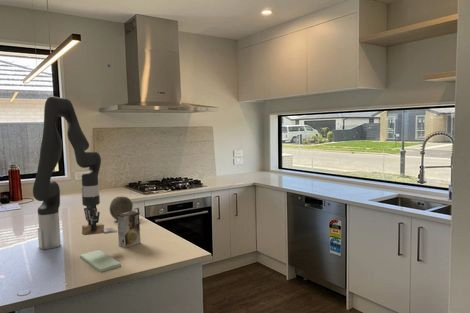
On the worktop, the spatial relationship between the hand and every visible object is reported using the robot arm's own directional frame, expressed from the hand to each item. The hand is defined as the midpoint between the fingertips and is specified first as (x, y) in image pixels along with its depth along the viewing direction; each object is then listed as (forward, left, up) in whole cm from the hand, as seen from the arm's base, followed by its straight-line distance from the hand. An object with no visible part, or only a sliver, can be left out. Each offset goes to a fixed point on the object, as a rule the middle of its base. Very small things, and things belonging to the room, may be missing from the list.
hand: (92, 230), depth 164 cm
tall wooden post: (+3, 0, -2) cm, 4 cm away
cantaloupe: (+36, +48, -11) cm, 61 cm away
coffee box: (+18, 0, -11) cm, 21 cm away
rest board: (-2, -12, -11) cm, 16 cm away
